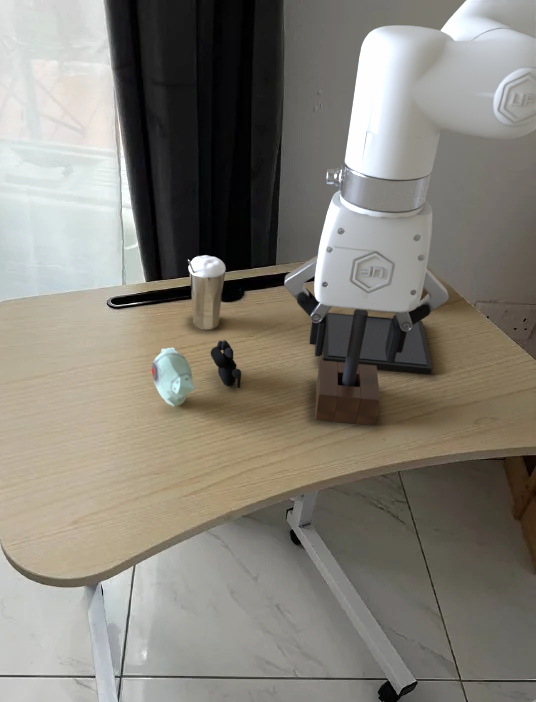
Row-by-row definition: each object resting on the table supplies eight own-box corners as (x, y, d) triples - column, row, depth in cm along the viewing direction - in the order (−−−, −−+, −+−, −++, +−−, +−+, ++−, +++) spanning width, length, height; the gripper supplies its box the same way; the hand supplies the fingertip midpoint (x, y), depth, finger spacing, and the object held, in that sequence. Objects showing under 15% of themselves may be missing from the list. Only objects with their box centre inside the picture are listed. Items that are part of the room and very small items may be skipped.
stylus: (350, 401, 74) (367, 308, 67) (350, 409, 73) (368, 315, 66) (337, 400, 75) (354, 307, 67) (338, 407, 73) (354, 314, 66)
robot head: (201, 422, 70) (201, 371, 66) (163, 430, 69) (162, 378, 65) (179, 380, 76) (179, 330, 72) (145, 386, 75) (142, 336, 71)
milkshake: (176, 324, 86) (175, 253, 79) (206, 310, 89) (208, 241, 83) (200, 339, 83) (201, 267, 77) (230, 324, 86) (233, 253, 80)
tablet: (420, 326, 88) (422, 320, 87) (430, 374, 79) (432, 367, 79) (323, 317, 89) (323, 311, 88) (322, 364, 80) (323, 357, 79)
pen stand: (371, 390, 76) (376, 365, 74) (374, 425, 71) (380, 400, 69) (316, 384, 77) (319, 360, 74) (315, 419, 72) (319, 394, 69)
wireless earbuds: (243, 397, 74) (245, 360, 71) (222, 401, 73) (223, 364, 70) (223, 363, 79) (224, 327, 76) (203, 366, 79) (203, 330, 75)
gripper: (284, 194, 56) (269, 365, 67) (491, 210, 55) (441, 381, 66) (288, 164, 62) (274, 326, 73) (475, 179, 61) (432, 341, 72)
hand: (353, 351), depth 69 cm, fingers open, 6 cm apart
